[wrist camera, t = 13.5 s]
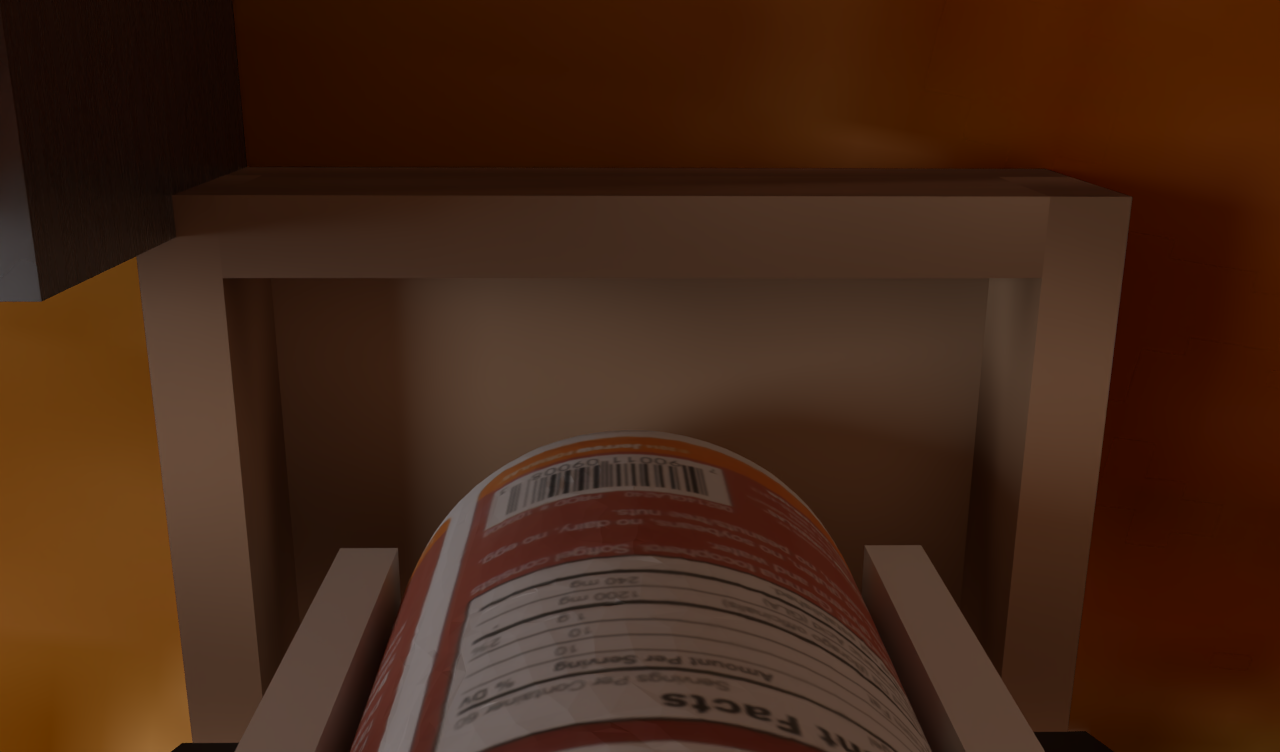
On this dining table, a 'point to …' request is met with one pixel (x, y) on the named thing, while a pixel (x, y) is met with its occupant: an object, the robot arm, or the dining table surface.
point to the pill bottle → (634, 616)
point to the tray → (631, 373)
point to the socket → (107, 130)
